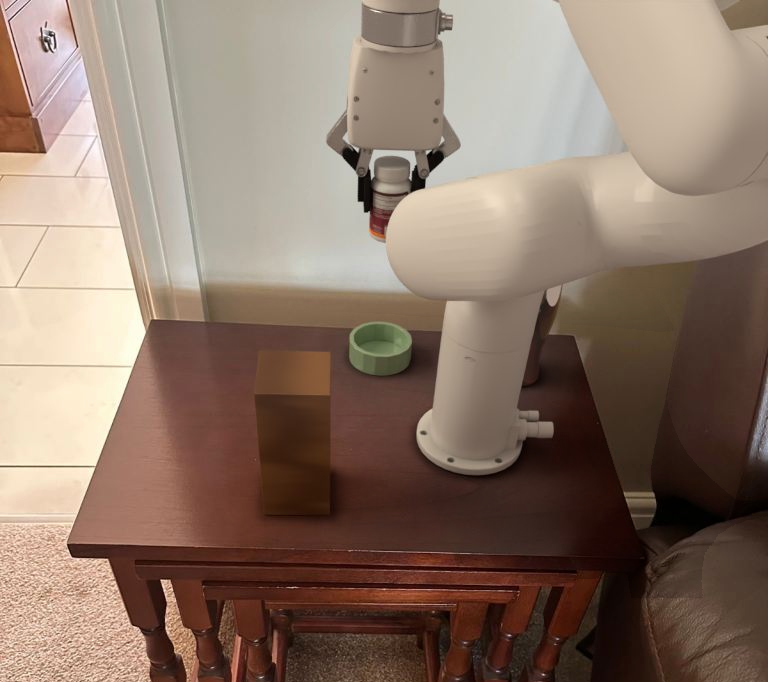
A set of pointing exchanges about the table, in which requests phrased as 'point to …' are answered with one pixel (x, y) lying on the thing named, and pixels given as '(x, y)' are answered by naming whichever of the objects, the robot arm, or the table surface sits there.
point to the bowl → (380, 348)
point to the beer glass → (541, 332)
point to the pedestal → (294, 431)
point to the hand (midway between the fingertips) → (390, 206)
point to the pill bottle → (387, 192)
